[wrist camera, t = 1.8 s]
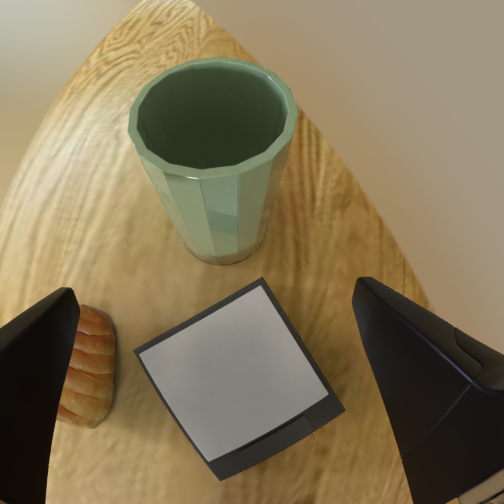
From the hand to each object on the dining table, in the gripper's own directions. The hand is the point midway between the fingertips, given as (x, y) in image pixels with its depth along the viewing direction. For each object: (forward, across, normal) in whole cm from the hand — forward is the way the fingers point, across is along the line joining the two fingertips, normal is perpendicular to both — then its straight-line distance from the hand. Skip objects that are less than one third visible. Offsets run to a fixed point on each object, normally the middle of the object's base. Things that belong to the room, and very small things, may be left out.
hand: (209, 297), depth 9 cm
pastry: (+6, +12, +12) cm, 18 cm away
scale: (+6, -1, +13) cm, 14 cm away
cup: (+14, 0, +4) cm, 15 cm away
